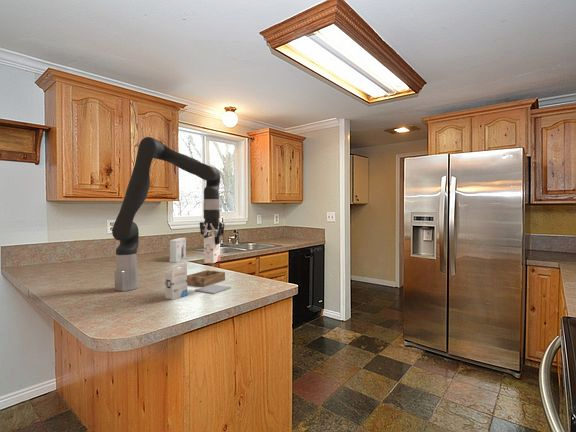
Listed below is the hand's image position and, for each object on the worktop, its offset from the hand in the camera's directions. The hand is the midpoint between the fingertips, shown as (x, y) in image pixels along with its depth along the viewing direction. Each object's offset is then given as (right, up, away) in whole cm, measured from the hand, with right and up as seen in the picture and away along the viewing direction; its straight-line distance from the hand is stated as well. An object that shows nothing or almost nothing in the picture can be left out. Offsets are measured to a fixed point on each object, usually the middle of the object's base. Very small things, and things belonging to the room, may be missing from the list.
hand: (212, 243), depth 155 cm
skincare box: (-46, -20, +88) cm, 101 cm away
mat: (0, -22, +1) cm, 22 cm away
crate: (-7, -22, +16) cm, 28 cm away
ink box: (-13, -23, -11) cm, 29 cm away
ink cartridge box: (0, -9, 0) cm, 9 cm away
